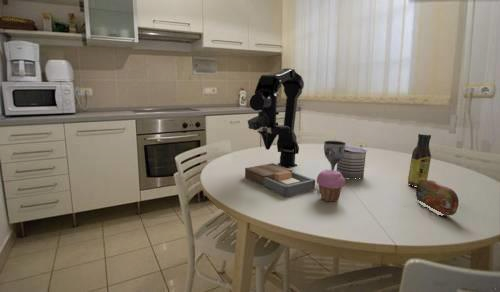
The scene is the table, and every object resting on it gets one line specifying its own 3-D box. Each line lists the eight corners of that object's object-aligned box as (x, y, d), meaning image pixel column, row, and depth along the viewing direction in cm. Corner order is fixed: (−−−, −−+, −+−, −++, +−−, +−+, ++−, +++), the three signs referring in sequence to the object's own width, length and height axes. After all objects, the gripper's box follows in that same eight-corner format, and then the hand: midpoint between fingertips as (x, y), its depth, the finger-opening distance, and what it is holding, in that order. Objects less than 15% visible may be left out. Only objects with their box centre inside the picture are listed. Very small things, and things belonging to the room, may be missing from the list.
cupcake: (348, 203, 94) (351, 173, 92) (324, 206, 91) (326, 175, 89) (333, 193, 102) (335, 165, 100) (310, 195, 100) (312, 167, 97)
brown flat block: (272, 172, 125) (272, 163, 124) (291, 180, 115) (292, 170, 114) (245, 177, 117) (245, 168, 116) (263, 186, 107) (263, 176, 106)
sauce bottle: (419, 189, 107) (427, 136, 103) (403, 184, 113) (410, 133, 108) (430, 187, 110) (438, 134, 106) (414, 182, 116) (421, 132, 111)
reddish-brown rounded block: (413, 200, 97) (417, 176, 95) (422, 200, 97) (426, 176, 96) (447, 221, 83) (452, 193, 81) (457, 221, 83) (463, 192, 81)
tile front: (300, 181, 105) (299, 187, 105) (292, 177, 108) (291, 184, 109) (287, 184, 102) (286, 190, 102) (279, 180, 105) (278, 186, 106)
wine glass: (342, 178, 119) (346, 141, 116) (342, 184, 112) (345, 145, 108) (322, 175, 121) (325, 140, 118) (320, 181, 114) (323, 143, 111)
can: (340, 169, 131) (342, 143, 128) (367, 174, 124) (370, 146, 122) (331, 176, 121) (333, 147, 119) (359, 181, 115) (362, 151, 112)
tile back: (287, 170, 110) (291, 172, 108) (286, 182, 111) (291, 184, 109) (274, 173, 107) (278, 174, 105) (274, 184, 108) (278, 186, 106)
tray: (291, 180, 115) (292, 171, 114) (314, 189, 105) (315, 180, 105) (263, 186, 107) (263, 177, 106) (285, 197, 98) (285, 187, 97)
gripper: (237, 107, 114) (237, 147, 117) (267, 111, 99) (265, 157, 102) (260, 106, 120) (259, 144, 123) (291, 110, 105) (289, 153, 108)
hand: (267, 149), depth 114 cm, fingers closed
